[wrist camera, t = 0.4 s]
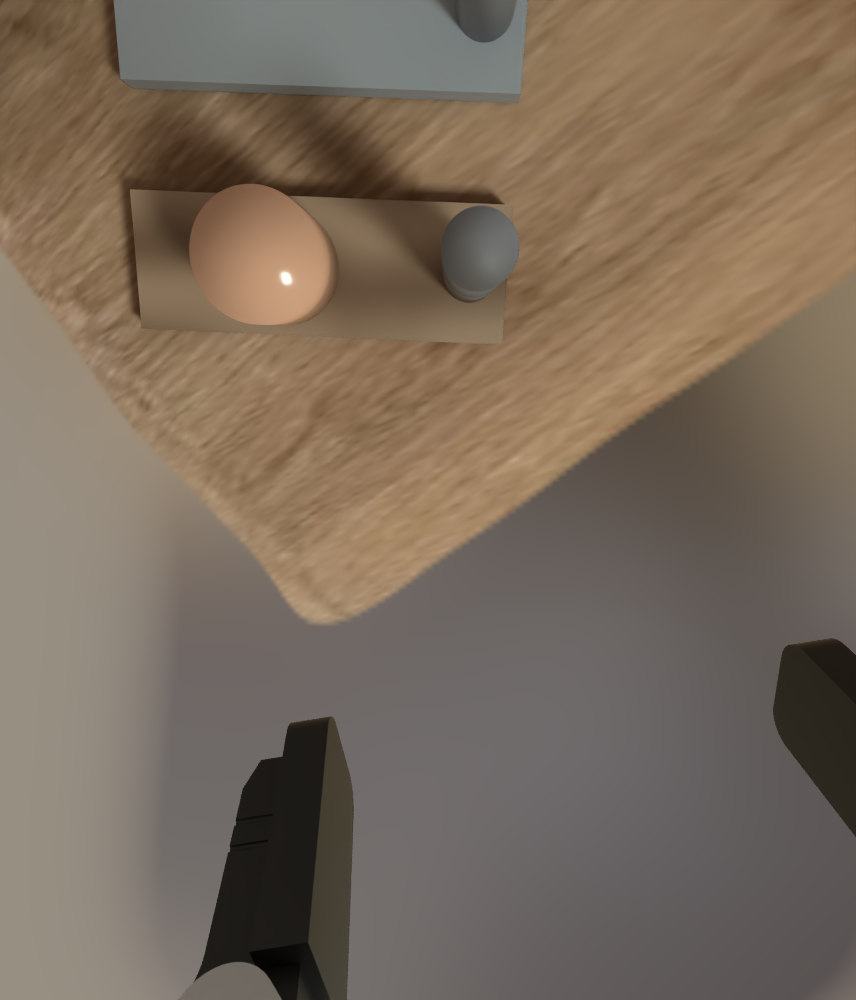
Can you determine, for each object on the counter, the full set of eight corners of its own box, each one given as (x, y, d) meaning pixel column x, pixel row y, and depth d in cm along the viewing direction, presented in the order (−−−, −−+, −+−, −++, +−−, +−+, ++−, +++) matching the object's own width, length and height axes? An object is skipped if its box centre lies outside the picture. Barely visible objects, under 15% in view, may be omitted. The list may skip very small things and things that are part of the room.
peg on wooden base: (141, 194, 33) (-32, 118, 21) (510, 209, 32) (545, 140, 20) (151, 328, 34) (-1, 327, 23) (500, 343, 34) (527, 351, 22)
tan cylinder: (225, 203, 31) (184, 180, 27) (338, 208, 31) (319, 186, 26) (230, 322, 33) (193, 321, 28) (338, 327, 33) (320, 327, 28)
